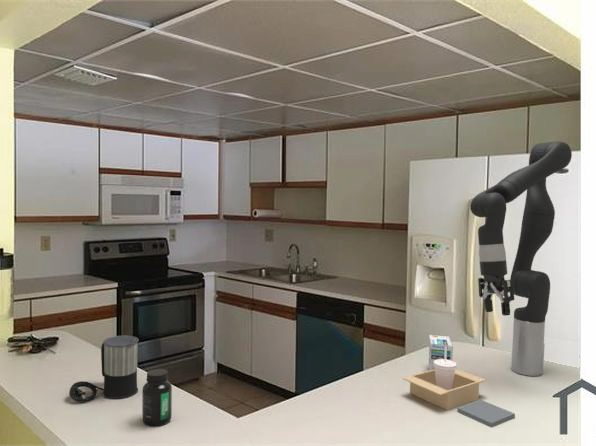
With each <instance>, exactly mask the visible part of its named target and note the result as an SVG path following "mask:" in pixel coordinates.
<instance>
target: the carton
mask: <svg viewBox="0 0 596 446" xmlns="http://www.w3.org/2000/svg"><path fill="white" fill-rule="evenodd" d="M402 380H404V381H406V382H408V383H410V384H409V394H412V395H413V396H415V397H418V398H420V399H422V400H424V401H426V402H429V403H430V404H432V405H435V406H438V407H439V408H441V409H443V410H446V411H449V410H452V409H455V408H459V407H462V406H465V405H467V404H470V403H473V402H476V401H479V397H480V394H479V393H480V384H481V383H484V382H487V379H485V378H483V377H482V378H481V377H480V376H477V375H474V374H472V373H469V372H466V371H463V370H461V369H457V368H456V369H455V375H454V380H453V386H452V389H451V390H445V389H443V388H441V387H438V386H436V379H435V369H434V370H430V371H429V370H426V371H423V372H419V373H416V374H412V375H408V376H405V377H402Z"/></svg>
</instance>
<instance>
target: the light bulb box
mask: <svg viewBox="0 0 596 446" xmlns="http://www.w3.org/2000/svg"><path fill="white" fill-rule="evenodd" d="M428 341H429V342H428V369H429V370H428V371H430V370H434V369H435V366H434V365H433V364H434V360H437V359H444V355H445V347H447V356H446V359H447V360H451V361H453V356H454V355H453V353H454V345H453V343H452V340H451V336H445V335H444V336H443V335H435V334H434V335H433V334H429V339H428Z"/></svg>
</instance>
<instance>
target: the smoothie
mask: <svg viewBox="0 0 596 446" xmlns="http://www.w3.org/2000/svg"><path fill="white" fill-rule="evenodd" d="M446 356H447V347H445V355H444V359H437V360H434V364H433V365H434V366H435V379H436V386H438V387H441V388H443V389H445V390H451V389H452V386H453V380H454V375H455V369H457V368H458V365H457V362H456V361H453V360H452V361H451V360H447V359H446Z"/></svg>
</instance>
